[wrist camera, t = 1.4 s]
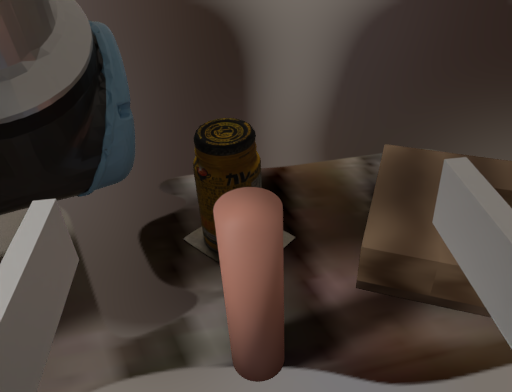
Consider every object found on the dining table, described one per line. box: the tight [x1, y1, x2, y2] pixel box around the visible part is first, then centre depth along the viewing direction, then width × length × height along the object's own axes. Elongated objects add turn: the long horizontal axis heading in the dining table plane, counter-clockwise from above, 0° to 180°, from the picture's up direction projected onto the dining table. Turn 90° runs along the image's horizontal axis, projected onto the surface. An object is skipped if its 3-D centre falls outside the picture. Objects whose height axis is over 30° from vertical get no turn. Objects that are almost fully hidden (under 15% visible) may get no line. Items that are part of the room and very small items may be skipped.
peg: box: [213, 187, 284, 382], centre depth 32 cm, size 4×4×15 cm
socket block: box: [356, 145, 512, 317], centre depth 43 cm, size 18×16×5 cm
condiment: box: [184, 118, 295, 262], centre depth 43 cm, size 7×8×12 cm
